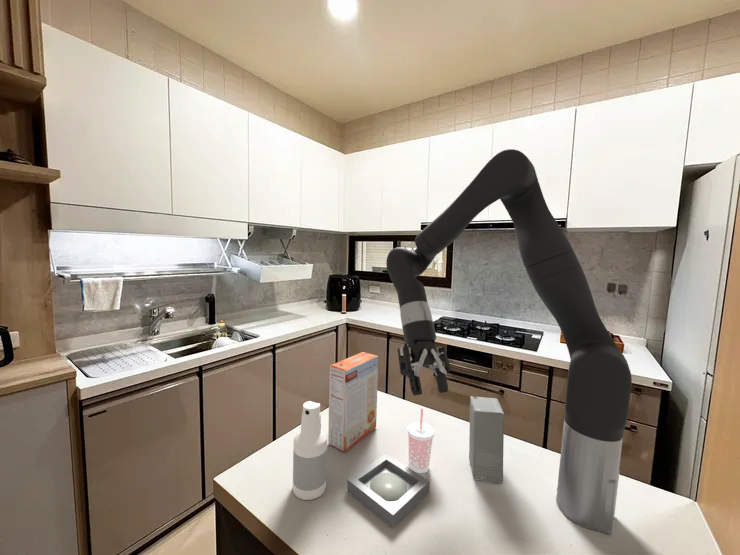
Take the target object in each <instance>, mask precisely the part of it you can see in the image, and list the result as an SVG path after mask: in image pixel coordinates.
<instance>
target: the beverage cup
mask: <svg viewBox="0 0 740 555" xmlns="http://www.w3.org/2000/svg"><path fill="white" fill-rule="evenodd" d="M423 412H424V408H423V407H421V408H420V420H419V421H420V422H419V421H416V422H415V421H414V422H412V423H409V424H408V426H407V436H408V468H410V469H412V470H413V471H415V472H416V473H418V474H424V473H427V472H428V471H429V468H430V462H431V454H432V445H433V439H434V436H435V428H433V427H432V425H430V424H428V423H425V422H423V417H424V413H423Z"/></svg>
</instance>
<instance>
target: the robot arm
mask: <svg viewBox="0 0 740 555" xmlns="http://www.w3.org/2000/svg"><path fill="white" fill-rule="evenodd" d="M499 200H500V202H501V203H502V205H503V206H504V208H505V210H506V211H507V213H508V215H509V217H510V219H511V222H512V223H513V226H514V230H515V235H516V240H517V244H518V248H519V253H520V259H521V260H522V263H523V266H524V269H525V270H526V273H527V275H528V277H529V279H530V280H529V281H530V282H531V284H532V286H533V288H534V289H535V292H536V293H537V295H538V296H539V298H540V299H541V301H542V302H543V304H544V305H545V307H546V308H547V309H548V311H549V312H550V314H551V315H552V316H553V318H554V320H555V321H556V324H557V325H558V327H559V328H560V331H561V333H562V336H563V339H564V342H565V345H566V348H567V351H568V354H569V358H570V360H569V361H570V362H569V365H568V371H567V372H568V373H567V381H566V382H567V383H566V392H565V403H564V419H563V429H562V438H561V446H560V448H561V449H560V459H559V467H558V477H557V488H556V498H555V499H556V504H557V507H558V508H559V510H560V511H561V512H562V513H563V514H564V515H565V516H566V517H568V519H569V520H571V521H573V522H574V523H576V524H578V525H580V526H581V527H584V528H587V529H589V530H594V531H598V532H604V533H605V534H608V535H611V534H612V530H613V523H614V520H615V519H614V518H615V513H616V506H617V498H618V497H617V496H618V488H619V480H620V464H621V455H622V448H623V447H622V446H623V439H624V433H625V432H624V431H625V428H626V426H627V422H628V414H629V407H630V400H631V393H632V385H633V384H632V373H631V368H630V367H629V366H630V365H629V363H628V360H627V359H626V357H625V356H624V353H623V352H622V351H621V349H619V347H618V344H616V342H615V341H614V339H613V338H612V336H611V334H610V333H609V331H608V329H607V328H606V325H605V324H604V322H603V321H602V319H601V316H600V315H599V312H598V310H597V307H596V304H595V302H594V297H593V295H592V292H591V288H590V286H589V283H588V280H587V277H586V274H585V272H584V270H583V268H582V265H581V263H580V260H579V259H578V257H577V254H576V253H575V251H574V249H573V247H572V245H571V243H570V241H569V240H568V238H567V236H566V235H565V233H564V231H563V229H562V227H561V226H560V225H559V223H558V222H557V221H556V220H557V219H555V217H554V215H553V214H552V213H551V211H550V209H549V207H548V205H547V203H546V199H545V197H544V194H543V192H542V188H541V185H540V182H539V178H538V175H537V172H536V168H535V166H534V165H533V163H532V161H531V160H530V158H529V157H528V156H527V155H526V154H525V153H523V152H522V151H520V150H518V149H509V148H508V149H504V150H501V151H499V152H497V153H496V154H494V155H493V156H492V157H491V158H490V159H489V160H488V161H487V163H486V164H484V165H483V167H481V169H480V171H478V173H477V174H476V176H474V178H473V179H472V181H471V182H470V183H469V184H468V185H467V186H466V187H465V188H464V189H463V190H462V192H461V193H460V194H459V195H458V196H457V197H456V198H455V199H454V201H453V202H451V204H449V205H448V206H447V208H445V210H443V212H441V213H440V214H439V215H438V216H437V217H436V218H435V219H433V221H431V222H430V223H429V224H428V225H427V226H425V227H424V228H423V229H422V230H421V231H420V232H419V233H418V234H417V235H416V237H415V239H414V244H415V246H416V249H414V250H413V251H412V250H410V249H407V248H405V247H402V246H401V247H399V246H398V247H395V248H394V247H393V248H392V249H391V250H390V251H389V253H388V254H387V257H386V263H385V265H386V270H387V272H388V275H389V276H388V277H389V279H390V280H391V282H392V284H393V287H394V289H395V290H396V294H397V299H398V305H399V311H400V314H399V316H400V321H401V322H400V323H401V328H402V332H403V338H404V344H405V345H403V346H402V347H401V346H400V347H398V348H397V354H398V355H397V357H398V363H399V371H400V372H399V373H400V375H401V376H405V377H407V378H408V381H409V387H410V392H411V393H412V396H415V397H416V396H422V394H423V391H422V390H423V389H422V385H421V379H420V376H419V374H420V370H421V368H423V367H428V368H429V369H430V370H432V372H433V373H434V374H435V379H436V385H437V389H438V392H439V393H440V394H441V393H447V392H448V391H449V385H448V382H447V381H448V380H447V373H448V372H451V371H452V368H451V364H450V362H449V361H450V360H449V358H448V354H447V350H446V347H445V346H443V345H442V346H439V347H436V344H435V342H436V341H437V334H436V328H435V325H434V321H433V316H432V313H431V308H430V306H429V303H428V297H427V293H426V289H425V286H424V284H423V282H421V281H419V280H418V278H417V277H419V276H421V275H422V274H423V273H424V272H425V271H426V270H427V269H428V267H429V266H430V265H431V263H432V262H433V261H434V259H435V258H436V256H437V255H439V254H440V253H441V252H443V251H444V250H445V249H446V248H447V247H449V246H450V245H451V244H452V243H453V242H455V241H456V240H457V239H458V238H459V237H460V235H462V234H463V232H464V231H465V230H466V228H467V227H468V226H469V225H470V224H471V223H472V221H473V220H474V219H475V218H476V217H477V216H478V215H479V214H481V213H482V212H483V211H484V210H485V209H486V208H487V207H489V206H491V205H492V204H493V203H496V202H497V201H499Z"/></svg>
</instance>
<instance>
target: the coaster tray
mask: <svg viewBox="0 0 740 555" xmlns="http://www.w3.org/2000/svg"><path fill="white" fill-rule="evenodd" d="M430 483H431V482H430V480H429V479H428V478H426V477H424V476H423V475H421V473H417V472H415V471H413V470H412V469H410V467H409V466H407V465H405V464H404V463H402V462H400V461H398V460H397V459H395V458H394V457H392V456H391V455H389V454H387V453H384V454H382V455H381V456H380V457H378V458H377V459H376V460H374V461H372V462H371V463H369V464H368V465H366V466H364V468H362V469H361V470H359V471H358V472H357V473H355V474H353V475H352V476H351V477H349V478H348V479H347V484H346V485H347V486H346V488H347V489H346V492H348V493H349V494H350V495H351V496H353V497H354V498H355V499H356V500H357V501H359V502H360V504H362V505H364V506H365V508H367V509H368V510H370V511H371V512H372V513H373V514H375V515H376V516H377V517H378V518H379V519H380V520H382V521H383V522H385V524H387V525H388V526H389V527H390V528H392V529H394V527H396V525H397V524H398V523H399V522H400V521H402V519H403V518H404V517H405V516H407V514H408V513H410V512H411V511H412V510H413V509H414V507H415V506H417V504H419V503H420V502H421V501H422V500H423V499H424V498H425V497H426V495H428V494H429V493H430V485H431V484H430Z"/></svg>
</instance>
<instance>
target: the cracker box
mask: <svg viewBox="0 0 740 555" xmlns="http://www.w3.org/2000/svg"><path fill="white" fill-rule="evenodd" d="M328 369H329V371H328V372H329V374H328V386H329V387H328V434H327V436H328V439H327V445H329V446H332V447H334V448H336V449H338V450H339V451H341V452H343V453H346V452H347V451H348V450H349V449H351V448H352V447H353V446H355V445H357V443H358V442H360V441H362V439H364V438H365V437H366V436H368V434H370V433H371V432H372V431H373V430H375V429H376V428H377V415H378V414H377V412H378V411H377V410H378V409H377V408H378V383H379V382H378V378H379V355H376V354H372V353H369V352H365V351H361V352H359V353H357V354H354V355H351V356H349V357H347V358H345V359H342V360H340V361H338V362H335V363H333V364H330V365H329V368H328Z"/></svg>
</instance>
